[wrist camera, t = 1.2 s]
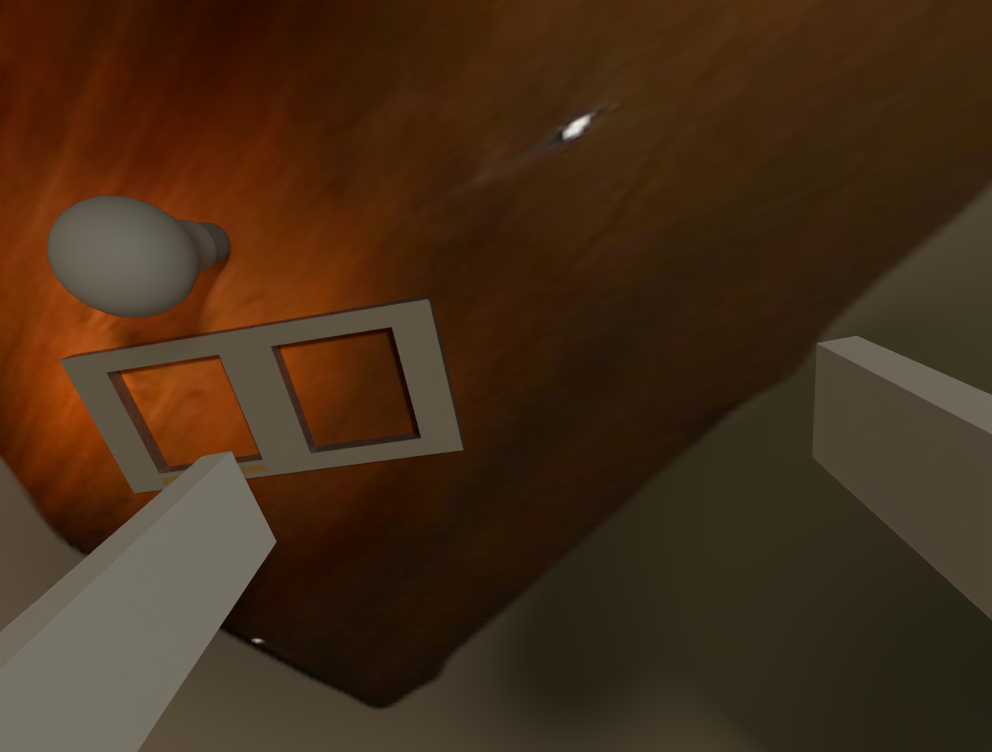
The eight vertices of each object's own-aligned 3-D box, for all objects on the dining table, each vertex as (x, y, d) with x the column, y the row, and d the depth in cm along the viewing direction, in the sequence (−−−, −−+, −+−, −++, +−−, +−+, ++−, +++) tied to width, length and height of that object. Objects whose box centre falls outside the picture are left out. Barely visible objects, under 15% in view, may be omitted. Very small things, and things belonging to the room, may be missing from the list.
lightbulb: (237, 181, 30) (97, 179, 20) (278, 273, 32) (170, 314, 22) (155, 207, 31) (-21, 218, 21) (200, 295, 33) (61, 345, 23)
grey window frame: (71, 355, 35) (58, 360, 34) (431, 295, 32) (428, 299, 31) (143, 486, 40) (133, 493, 39) (464, 443, 37) (463, 450, 36)
